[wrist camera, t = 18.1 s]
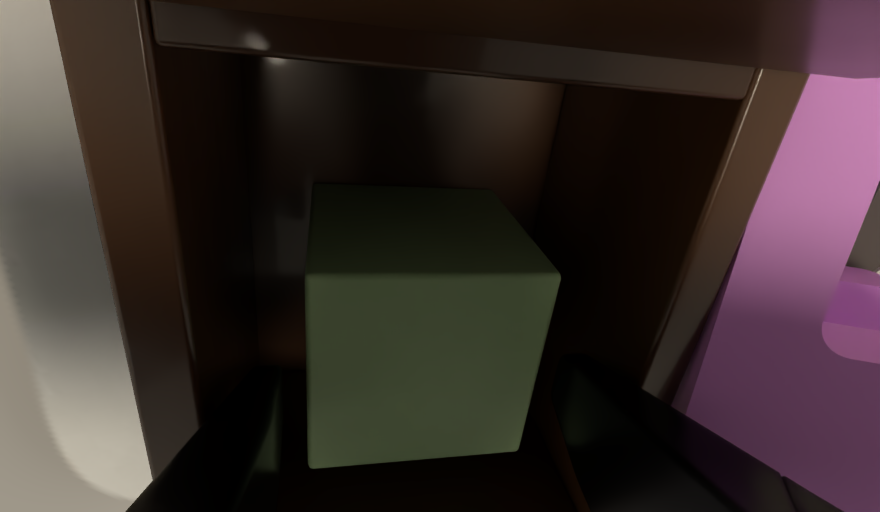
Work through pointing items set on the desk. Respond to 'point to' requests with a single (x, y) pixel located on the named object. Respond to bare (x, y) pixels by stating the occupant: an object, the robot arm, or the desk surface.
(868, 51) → the lid
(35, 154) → the desk surface
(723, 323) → the bracket
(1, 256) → the desk surface
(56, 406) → the desk surface
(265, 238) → the chest
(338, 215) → the block
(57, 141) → the desk surface
